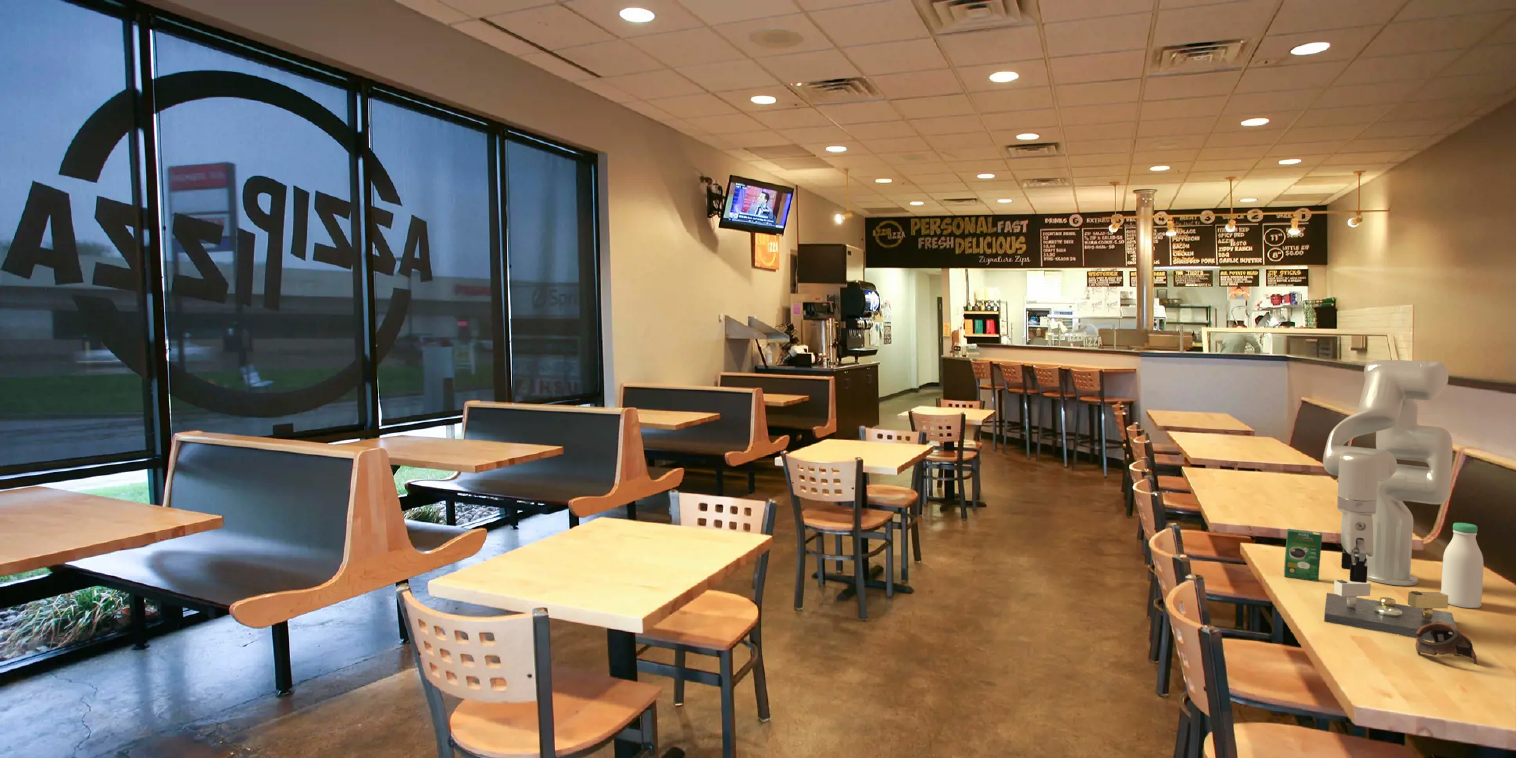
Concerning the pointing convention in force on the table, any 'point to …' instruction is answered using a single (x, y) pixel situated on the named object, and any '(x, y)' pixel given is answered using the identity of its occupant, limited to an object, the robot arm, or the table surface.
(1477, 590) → the milk bottle
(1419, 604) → the wooden bar knob
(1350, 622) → the levelling plate
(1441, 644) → the brown curved hollow piece
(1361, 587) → the white t-shaped handle
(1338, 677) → the table surface
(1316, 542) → the coffee box
